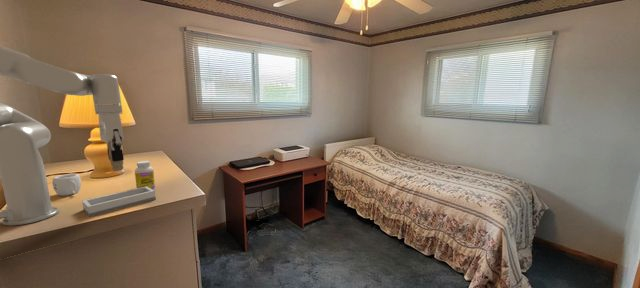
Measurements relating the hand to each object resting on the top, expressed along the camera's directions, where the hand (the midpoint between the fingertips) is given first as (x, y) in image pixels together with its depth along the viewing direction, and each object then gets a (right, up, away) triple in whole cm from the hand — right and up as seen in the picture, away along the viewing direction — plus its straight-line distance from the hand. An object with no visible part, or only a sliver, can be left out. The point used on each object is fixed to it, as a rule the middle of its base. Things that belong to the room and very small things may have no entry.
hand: (116, 159), depth 94 cm
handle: (0, -4, +1) cm, 4 cm away
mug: (-30, -16, +13) cm, 36 cm away
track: (0, -17, +3) cm, 17 cm away
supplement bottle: (-1, -15, +18) cm, 23 cm away
